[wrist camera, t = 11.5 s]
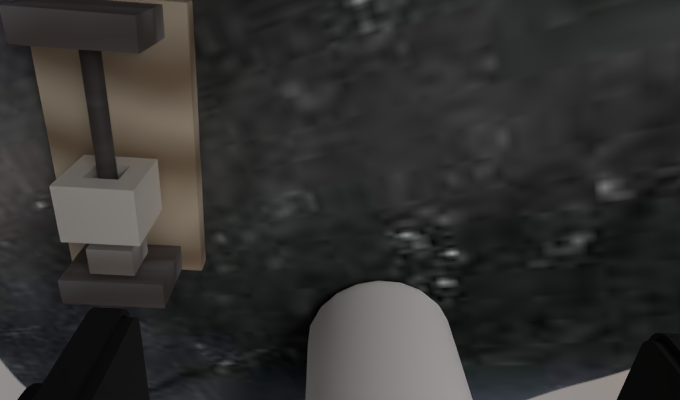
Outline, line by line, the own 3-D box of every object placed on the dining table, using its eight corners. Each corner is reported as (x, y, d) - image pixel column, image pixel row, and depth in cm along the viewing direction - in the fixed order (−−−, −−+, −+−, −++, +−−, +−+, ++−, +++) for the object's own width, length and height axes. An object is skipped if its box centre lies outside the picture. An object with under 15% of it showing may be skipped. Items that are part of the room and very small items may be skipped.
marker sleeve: (84, 154, 35) (49, 185, 31) (157, 158, 36) (133, 190, 31) (92, 205, 37) (60, 242, 33) (162, 209, 37) (140, 246, 33)
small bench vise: (32, -13, 32) (-33, -2, 27) (192, 0, 33) (163, 13, 27) (80, 253, 41) (40, 304, 36) (205, 259, 42) (186, 311, 36)
